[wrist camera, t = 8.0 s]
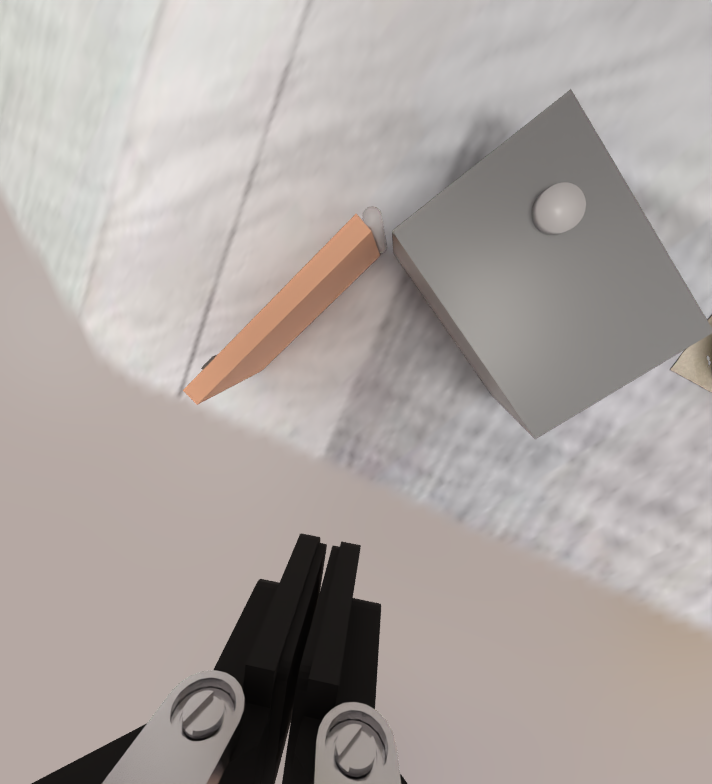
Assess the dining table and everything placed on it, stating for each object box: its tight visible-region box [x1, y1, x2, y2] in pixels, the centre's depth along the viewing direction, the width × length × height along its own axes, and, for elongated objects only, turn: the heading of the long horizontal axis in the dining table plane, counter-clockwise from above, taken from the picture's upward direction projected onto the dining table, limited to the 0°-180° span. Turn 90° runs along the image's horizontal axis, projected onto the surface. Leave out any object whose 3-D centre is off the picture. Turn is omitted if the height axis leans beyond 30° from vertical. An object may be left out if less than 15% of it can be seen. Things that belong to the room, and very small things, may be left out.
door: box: [183, 206, 387, 404], centre depth 28 cm, size 2×15×12 cm, turn 133°
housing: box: [392, 90, 712, 439], centre depth 27 cm, size 11×15×12 cm
